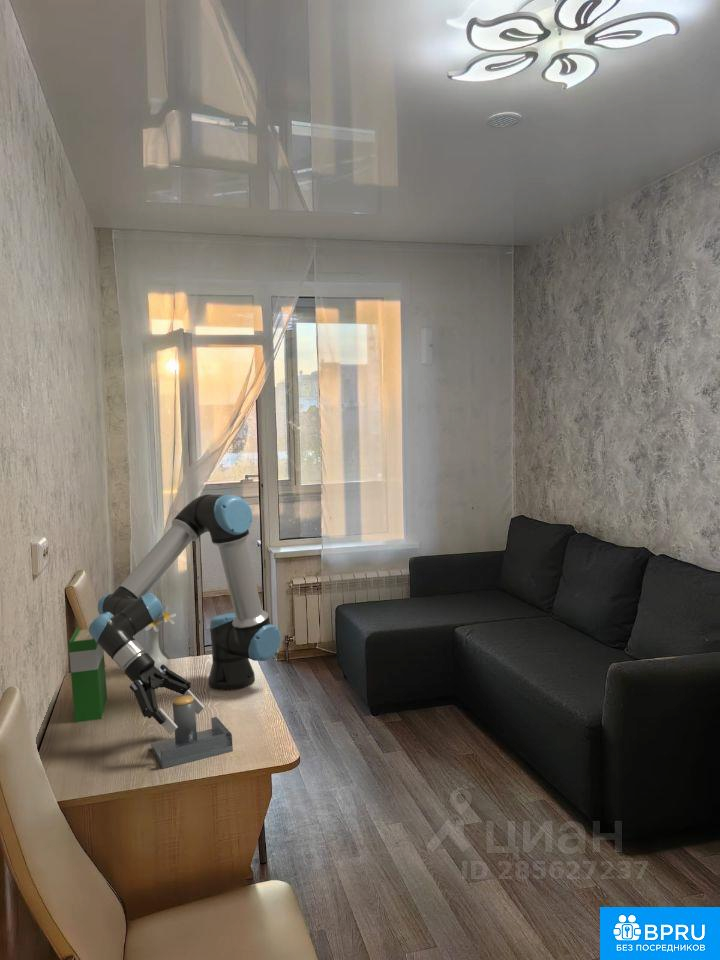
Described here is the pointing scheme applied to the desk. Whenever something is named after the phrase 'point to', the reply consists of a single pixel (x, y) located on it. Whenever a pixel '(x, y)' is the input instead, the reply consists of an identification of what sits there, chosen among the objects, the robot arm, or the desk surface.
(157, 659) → the flower vase
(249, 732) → the desk surface
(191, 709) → the grey cylinder orange top
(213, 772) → the desk surface
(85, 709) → the hardback book
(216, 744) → the plate
